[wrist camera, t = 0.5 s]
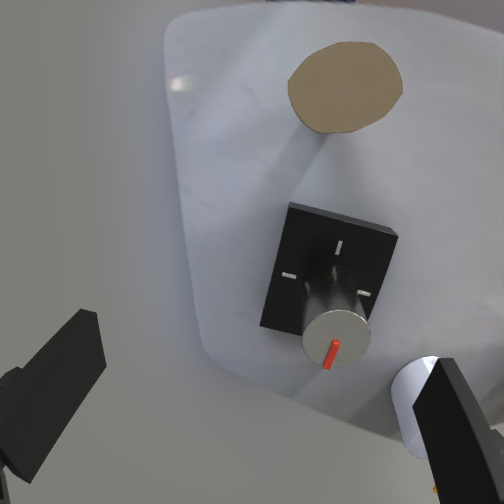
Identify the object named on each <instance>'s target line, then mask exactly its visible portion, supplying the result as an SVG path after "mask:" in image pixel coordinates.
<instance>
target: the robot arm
mask: <svg viewBox="0 0 504 504" xmlns="http://www.w3.org/2000/svg"><path fill="white" fill-rule="evenodd" d="M105 368H106V361H105V356H104V351H103V346H102V341H101V336H100V331H99V325H98V319H97V313H96V312H92V311H88V310H83V309H80V310H79V311H78V312H77V313H76V314H75V315H74V316H73V317H72V318H71V319H70V320H69V321H68V322H67V323H66V324H65V325H64V326H63V327H62V328H61V329H60V330H59V331H58V332H57V333H56V334H55V335H54V336H53V337H52V338H51V339H50V340H49V341H48V342H47V343H46V344H45V345H44V346H43V347H42V348H41V349H40V350H39V352H37V354H36V355H35V356H34V357H33V358H32V359H31V360H30V361H29V362H28V363H27V364H26V366H25V367H24V368H23V369H21V368H19V367H15V368H14V369H12V370H10V371H8V372H6V373H5V374H4V375H3V376H2V377H1V378H0V504H10V499H9V494H8V488H7V482H6V477H5V473H4V471H3V468H4V466H5V465H6V466H7V467H8V468H9V469H10V471H11V472H12V473H13V474H14V475H16V476H17V477H19V478H21V479H22V480H24V481H25V482H27V483H29V484H30V483H31V482H32V480H33V478H34V476H35V475H36V473H37V472H38V470H39V468H40V467H41V465H42V464H43V462H44V460H45V458H46V457H47V455H48V454H49V452H50V451H51V449H52V448H53V446H54V444H55V443H56V441H57V439H58V438H59V437H60V435H61V433H62V432H63V430H64V429H65V427H66V426H67V424H68V423H69V421H70V420H71V418H72V417H73V415H74V413H75V412H76V410H77V409H78V407H79V406H80V404H81V403H82V401H83V400H84V398H85V397H86V396H87V394H88V392H89V391H90V390H91V388H92V387H93V385H94V384H95V382H96V381H97V379H98V378H99V377H100V375H101V374H102V372H103V371H104V369H105ZM412 408H413V411H414V414H415V417H416V420H417V424H418V427H419V430H420V433H421V436H422V439H423V443H424V446H425V449H426V453H427V456H428V460H429V463H430V466H431V470H432V474H433V478H434V481H435V485H436V489H437V493H438V497H439V501H440V504H504V437H503V436H502V435H501V434H500V433H499V432H498V431H497V430H496V429H494V430H491V429H490V427H489V425H488V423H487V421H486V419H485V417H484V415H483V413H482V411H481V409H480V407H479V405H478V403H477V401H476V399H475V397H474V395H473V393H472V391H471V389H470V387H469V386H468V384H467V382H466V380H465V378H464V376H463V375H462V373H461V371H460V369H459V368H458V366H457V364H456V362H455V360H454V359H453V358H438V359H437V361H436V363H435V365H434V367H433V369H432V371H431V373H430V375H429V377H428V378H427V380H426V382H425V384H424V386H423V388H422V390H421V392H420V393H419V395H418V397H417V399H416V401H415V402H414V404H413V406H412Z"/></svg>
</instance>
